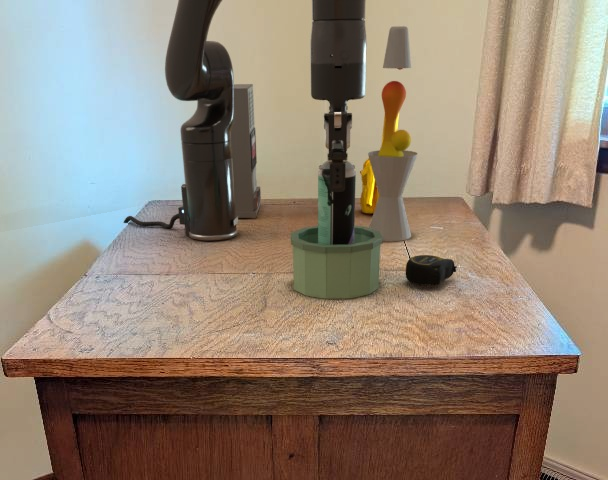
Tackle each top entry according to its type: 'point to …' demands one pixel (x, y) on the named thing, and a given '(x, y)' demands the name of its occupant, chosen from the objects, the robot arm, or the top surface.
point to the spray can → (336, 207)
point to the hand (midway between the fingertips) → (337, 185)
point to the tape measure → (429, 269)
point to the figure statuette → (370, 183)
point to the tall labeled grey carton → (244, 153)
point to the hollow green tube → (336, 264)
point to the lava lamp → (393, 148)
